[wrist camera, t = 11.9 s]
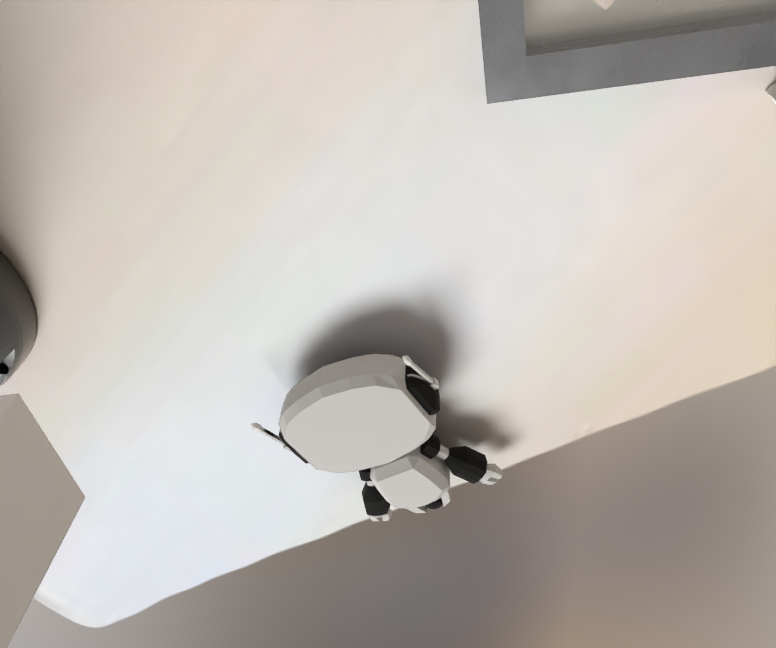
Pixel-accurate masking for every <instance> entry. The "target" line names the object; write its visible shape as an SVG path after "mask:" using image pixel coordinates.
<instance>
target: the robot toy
mask: <svg viewBox="0 0 776 648" xmlns="http://www.w3.org/2000/svg"><path fill="white" fill-rule="evenodd" d="M402 357H403V358H400V357H397V356H393V355H385V354H369V355H363V356H357V357H352V358H349V359H345V360H342V361H339V362H336V363H332V364H329V365H326V366H322V367H321V368H319V369H318V370H316V371H315V372H313V373H312V374H310V375H309V376H307V377H306V378H304V379H303V380H301V381H300V382H299V383H298V384H297V385H296V386H294V387H293V388H292V389H291V390H290V391H289V393H288V394H287V396H286V398H285V401H284V403H283V407H282V411H281V415H280V420H279V427H280V432H279V436H280V437H279V436H277V435H275V434H273V433H271V432H270V431H268V430H266V429H264V428H263V427H261V425H259V424H258V423H253V424H251V425H252V428H253V429H254V430H255V431H257V432H261V433H263V434H265V435H266V436H268V437H270V438H272V439H274V440H275V441H277V442H279V443H281V444H283V445H284V448H285V449H287V450H289V451H290V450H291V451H292V452H293V453H294V454H295V455H297V456H298V457H299V458H300V459H301V460H303V461H304V462H305V463H310V464H311V465H312V466H313V467H314V468H315V469H317V470H323V471H329V472H335V473H343V472H351V471H359V473H360V477H361V480H363V481H366V483H365V486H364V488H363V491H362V496H363V501H364V505H365V508H366V512H367V515H369V517H370V518H371V520H372V521H379V517H383V521H387V520H389V519H390V517H391V512H392V511H391V509H390V504H391V505H392V506H394V507H397V508H405V509H408V510H410V511H412V512H414V513H426V512H427V507H428V508H430V509H437V508H439V507H441V506H442V505H444V506H445V505H446V504H448V503H449V502H450V474H449V469H450V470H451V472H452V473H453V475H455V476H457V477H460V478H462V479H464V480H466V481H469V482H471V483H476V482H478V481H479V480H480V481H481V482H482V483H483V484H488V485H492V484H494V483H495V482H497V480H496V479H500V478H501V477H502V470H501V469H500V468H499V467H498V466H497V465H495V464H487V460H486V457H485V455H483V454H481V453H479V452H477V451H475V450H473V449H471V448H469V447H466V446H463V447H454V448H449V449H448V448H446V447H444V446H442V445H440V440H439V438H438V437H436V436H434V435H432V433H433V432H434V430H435V429H436V413H437V412H438V411H439V410H440V396H439V390H438V388H440V386H439V381H438V380H437V379H436V378H435V377H432V378H431V377H430V376H429V375H428V374H427V373H426V372H424V371H423V370H422V369H421V368H420V367H418V366H417V365H416V364H415V363H414V362H413V361H411V358H409V357H408V356H402Z"/></svg>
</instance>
